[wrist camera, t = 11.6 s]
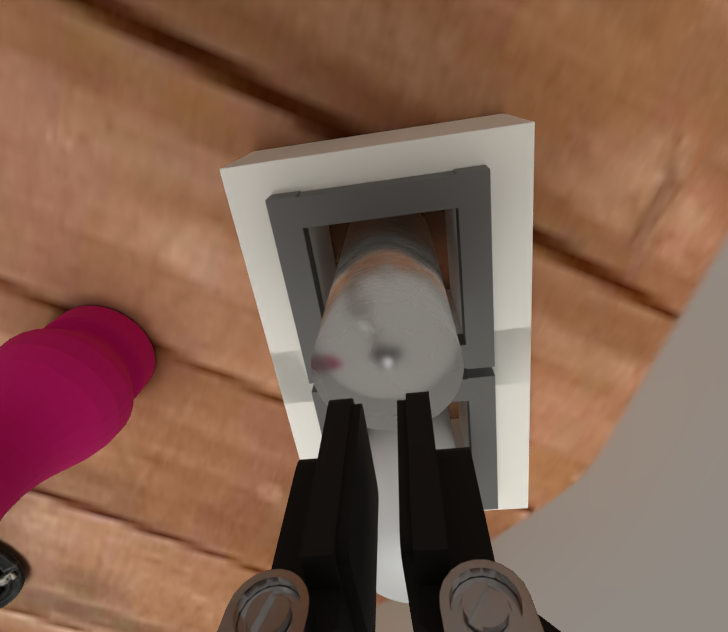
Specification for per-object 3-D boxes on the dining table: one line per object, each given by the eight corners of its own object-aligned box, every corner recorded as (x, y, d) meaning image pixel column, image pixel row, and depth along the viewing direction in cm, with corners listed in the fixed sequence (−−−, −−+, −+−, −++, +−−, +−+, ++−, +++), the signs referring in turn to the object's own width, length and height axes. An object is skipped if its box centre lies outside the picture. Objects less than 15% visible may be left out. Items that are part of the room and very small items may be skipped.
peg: (338, 206, 24) (296, 312, 13) (427, 194, 23) (459, 293, 12) (352, 287, 26) (325, 436, 15) (434, 277, 25) (467, 424, 14)
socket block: (253, 151, 23) (129, 215, 12) (504, 113, 21) (620, 146, 10) (327, 457, 31) (294, 652, 21) (507, 444, 30) (572, 645, 19)
